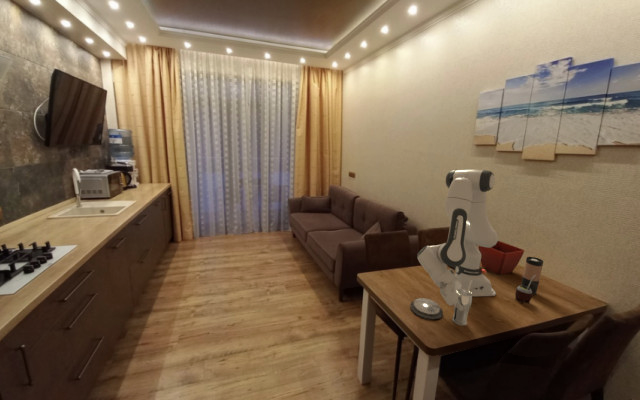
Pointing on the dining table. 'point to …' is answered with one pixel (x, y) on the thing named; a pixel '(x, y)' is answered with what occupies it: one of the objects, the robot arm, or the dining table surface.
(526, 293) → the mate gourd
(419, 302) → the disc
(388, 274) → the dining table surface
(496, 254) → the plant pot
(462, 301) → the beer glass
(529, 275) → the travel mug
